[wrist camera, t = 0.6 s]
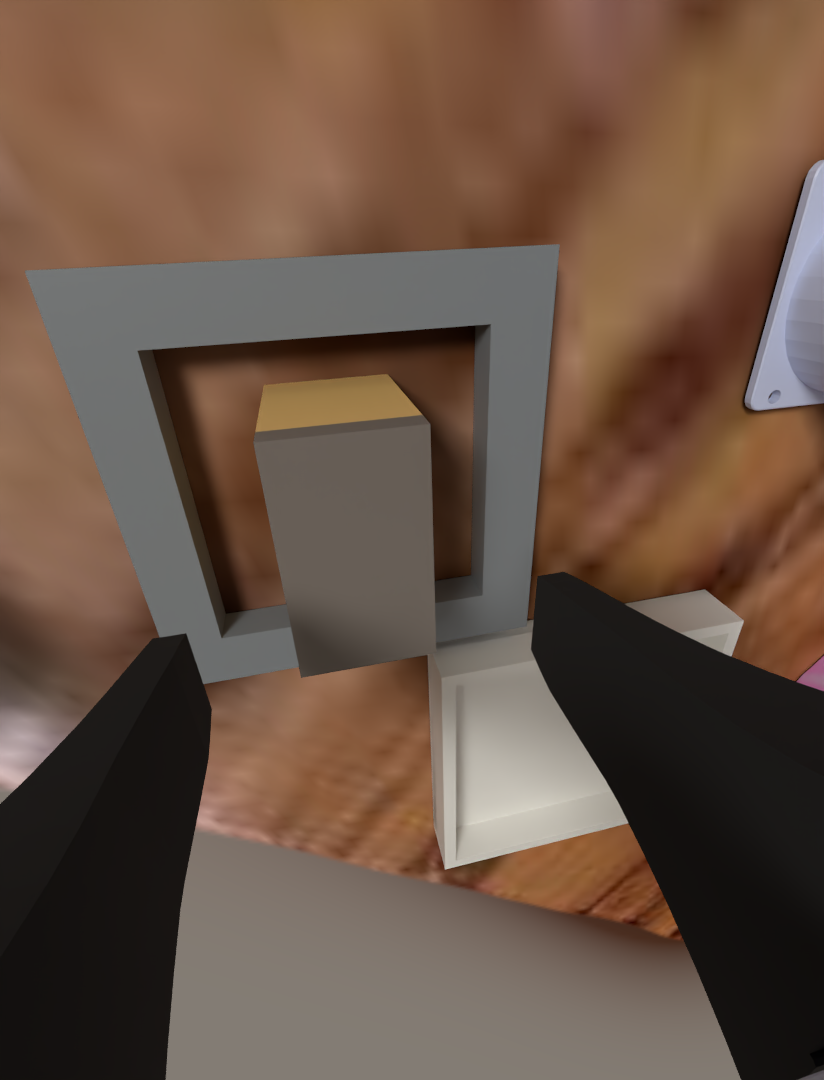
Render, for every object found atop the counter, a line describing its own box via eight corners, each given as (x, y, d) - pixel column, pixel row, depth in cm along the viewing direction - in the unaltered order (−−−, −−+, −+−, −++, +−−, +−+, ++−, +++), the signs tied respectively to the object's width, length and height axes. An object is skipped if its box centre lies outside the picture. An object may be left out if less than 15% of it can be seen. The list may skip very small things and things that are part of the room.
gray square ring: (537, 245, 16) (559, 244, 15) (513, 605, 23) (526, 626, 22) (48, 269, 14) (24, 270, 12) (185, 661, 21) (178, 688, 19)
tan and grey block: (387, 373, 17) (430, 423, 12) (398, 553, 20) (436, 653, 15) (264, 384, 16) (253, 442, 11) (297, 568, 20) (301, 677, 15)
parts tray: (704, 589, 25) (744, 620, 23) (651, 773, 32) (677, 810, 30) (427, 638, 23) (441, 678, 21) (433, 825, 30) (445, 869, 27)
